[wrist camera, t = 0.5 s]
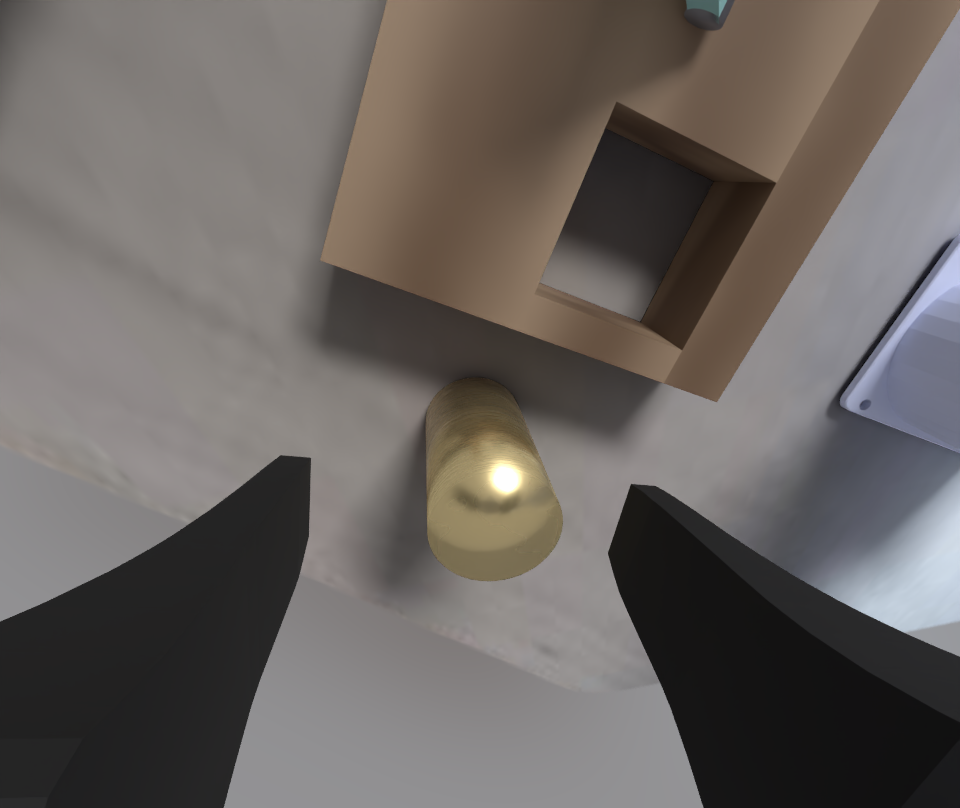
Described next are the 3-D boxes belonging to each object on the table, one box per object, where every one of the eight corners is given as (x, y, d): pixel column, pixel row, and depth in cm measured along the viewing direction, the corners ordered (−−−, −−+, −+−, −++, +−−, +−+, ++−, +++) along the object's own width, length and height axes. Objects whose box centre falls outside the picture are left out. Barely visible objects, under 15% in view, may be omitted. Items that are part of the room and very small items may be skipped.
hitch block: (935, -101, 15) (1071, -174, 12) (671, 367, 21) (716, 402, 18) (516, -421, 12) (551, -640, 9) (338, 244, 17) (320, 260, 14)
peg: (535, 394, 21) (585, 491, 14) (499, 472, 22) (530, 592, 16) (444, 364, 20) (455, 454, 13) (412, 448, 21) (409, 565, 15)
